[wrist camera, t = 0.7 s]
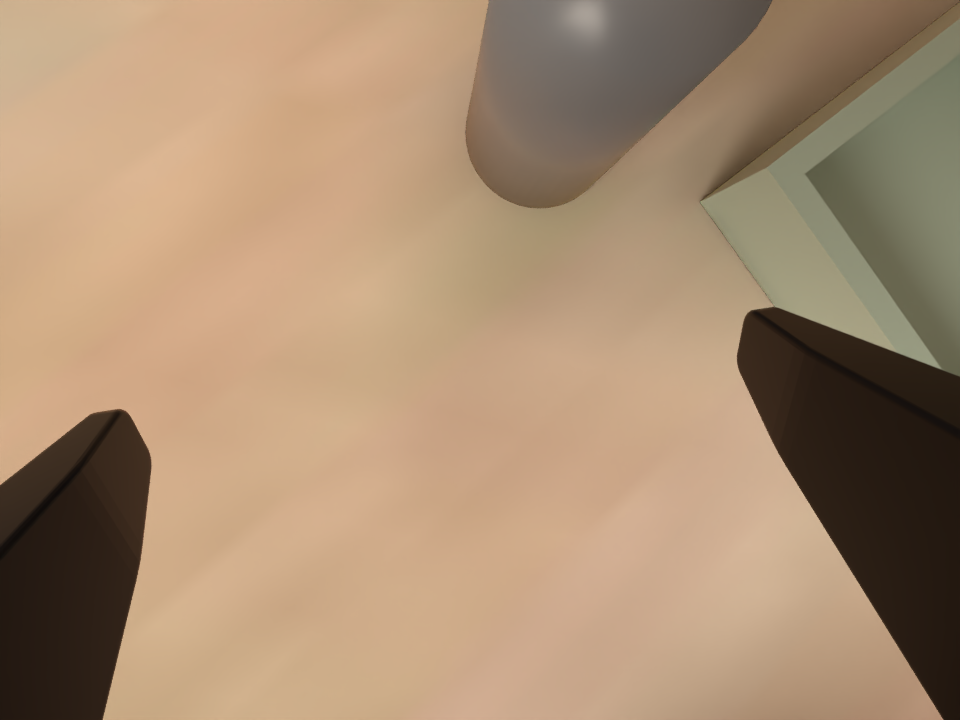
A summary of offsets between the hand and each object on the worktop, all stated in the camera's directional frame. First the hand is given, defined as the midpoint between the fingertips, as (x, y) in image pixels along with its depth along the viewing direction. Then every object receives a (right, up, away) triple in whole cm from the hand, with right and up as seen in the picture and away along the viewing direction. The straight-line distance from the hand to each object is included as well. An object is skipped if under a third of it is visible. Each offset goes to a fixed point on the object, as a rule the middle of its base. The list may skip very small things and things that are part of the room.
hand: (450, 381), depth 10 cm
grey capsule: (+2, +8, +13) cm, 15 cm away
